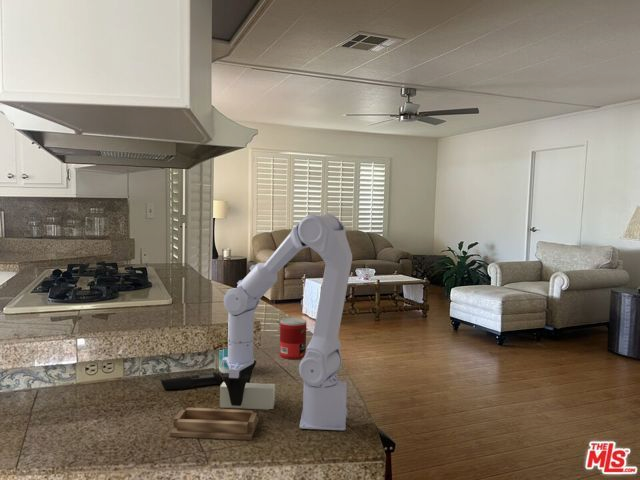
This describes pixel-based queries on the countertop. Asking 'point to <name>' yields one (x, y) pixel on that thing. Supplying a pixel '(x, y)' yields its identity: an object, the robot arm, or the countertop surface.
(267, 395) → the clay strip
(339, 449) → the countertop surface
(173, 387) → the electric trimmer
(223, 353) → the pill bottle
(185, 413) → the tray
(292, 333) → the canned food
